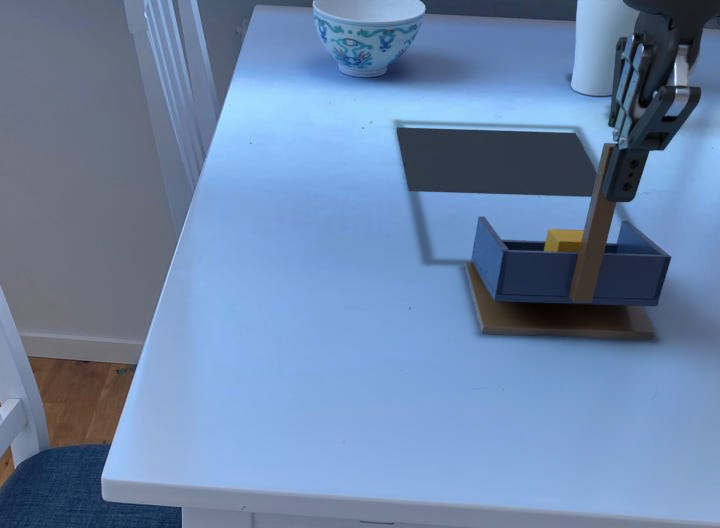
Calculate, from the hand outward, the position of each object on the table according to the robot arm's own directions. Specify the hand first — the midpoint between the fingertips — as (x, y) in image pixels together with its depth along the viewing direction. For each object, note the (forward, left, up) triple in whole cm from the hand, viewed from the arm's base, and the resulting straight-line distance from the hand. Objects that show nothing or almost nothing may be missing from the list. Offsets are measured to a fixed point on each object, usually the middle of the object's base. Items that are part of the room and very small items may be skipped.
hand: (616, 197), depth 72 cm
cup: (-17, -67, -14) cm, 71 cm away
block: (0, -6, -10) cm, 11 cm away
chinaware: (+14, -72, -14) cm, 75 cm away
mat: (0, -32, -14) cm, 35 cm away
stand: (0, -7, -14) cm, 15 cm away
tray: (0, -7, -11) cm, 13 cm away
